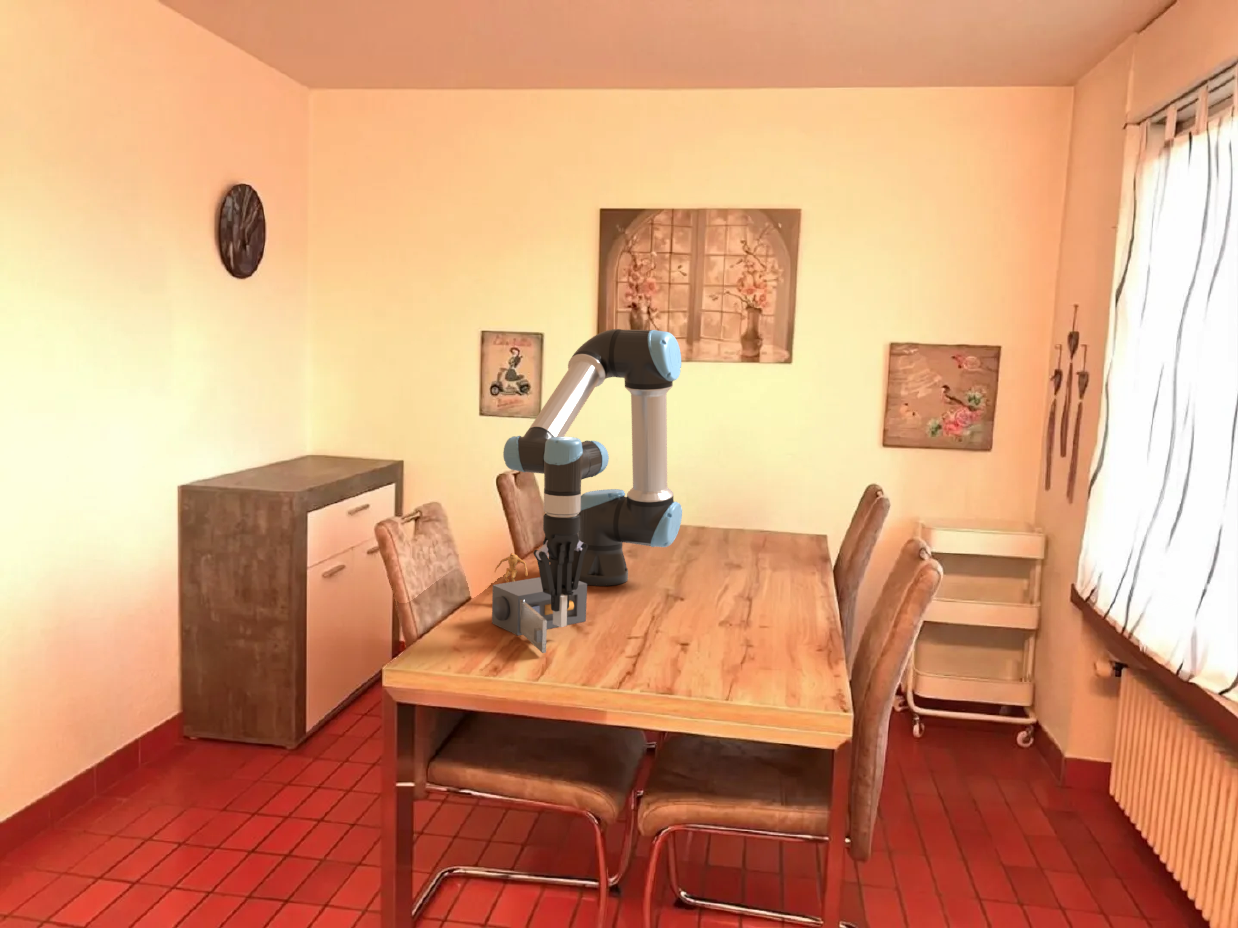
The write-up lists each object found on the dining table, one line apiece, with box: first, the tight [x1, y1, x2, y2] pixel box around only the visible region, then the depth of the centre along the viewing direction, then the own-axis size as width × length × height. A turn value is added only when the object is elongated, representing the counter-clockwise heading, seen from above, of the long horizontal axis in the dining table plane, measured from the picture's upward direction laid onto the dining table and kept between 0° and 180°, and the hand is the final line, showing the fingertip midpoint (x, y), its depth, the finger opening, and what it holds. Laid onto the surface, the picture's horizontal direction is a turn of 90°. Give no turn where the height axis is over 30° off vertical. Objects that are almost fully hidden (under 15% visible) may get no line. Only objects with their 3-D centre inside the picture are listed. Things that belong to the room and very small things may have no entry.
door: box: [519, 599, 548, 654], centre depth 187 cm, size 14×2×7 cm, turn 24°
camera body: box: [491, 576, 588, 636], centre depth 203 cm, size 19×10×8 cm, turn 130°
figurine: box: [494, 552, 528, 583], centre depth 216 cm, size 8×6×12 cm
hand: (559, 624), depth 193 cm, fingers closed
